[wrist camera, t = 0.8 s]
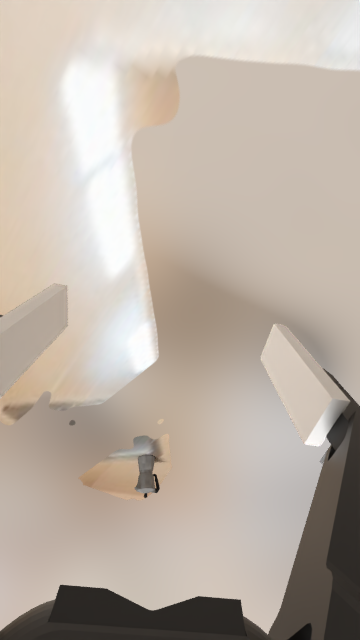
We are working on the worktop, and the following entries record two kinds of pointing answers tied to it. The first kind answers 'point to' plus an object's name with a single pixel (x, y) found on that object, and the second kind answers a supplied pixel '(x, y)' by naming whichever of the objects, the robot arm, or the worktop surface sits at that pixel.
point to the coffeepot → (146, 475)
